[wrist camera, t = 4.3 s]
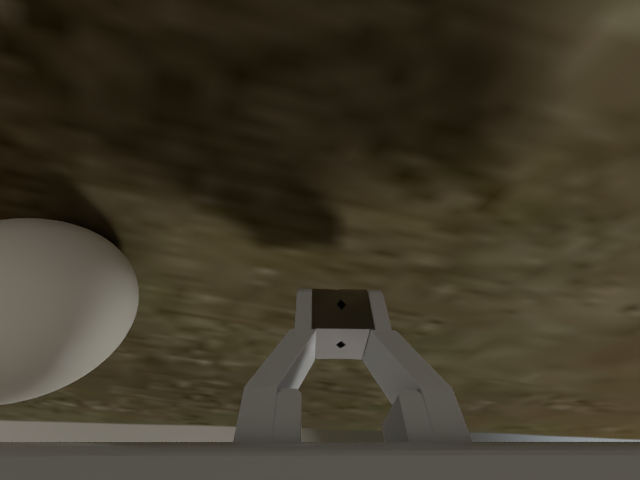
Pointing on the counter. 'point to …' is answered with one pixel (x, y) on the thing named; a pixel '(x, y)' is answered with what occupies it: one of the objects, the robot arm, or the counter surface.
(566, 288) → the counter surface
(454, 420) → the robot arm
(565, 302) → the counter surface
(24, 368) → the ivory ball
